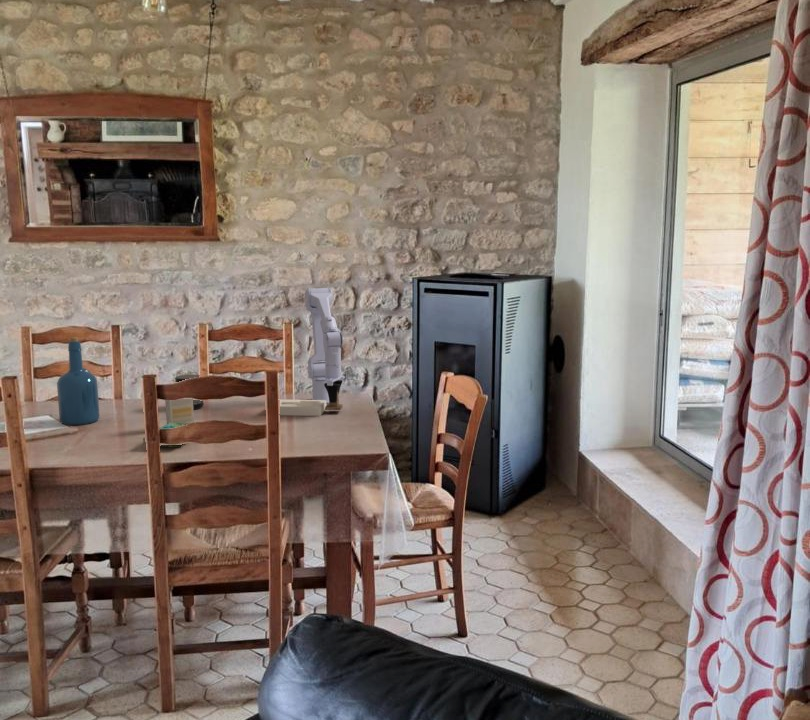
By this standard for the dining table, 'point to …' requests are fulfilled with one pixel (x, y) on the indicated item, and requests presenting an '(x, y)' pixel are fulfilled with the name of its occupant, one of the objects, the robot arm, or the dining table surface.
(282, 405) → the cream rectangular tray
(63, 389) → the wine bottle
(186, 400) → the supplement box
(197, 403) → the supplement container
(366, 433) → the dining table surface
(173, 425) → the puzzle game
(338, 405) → the keyhole slider
